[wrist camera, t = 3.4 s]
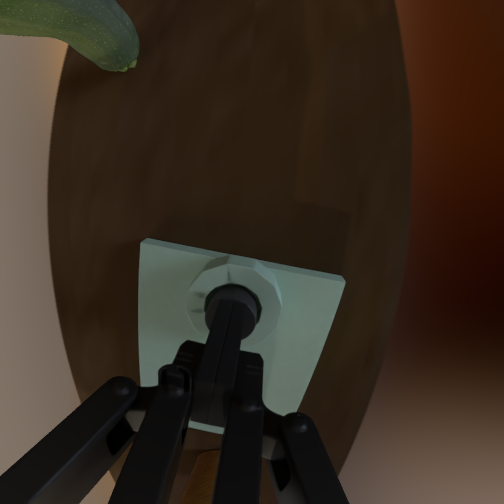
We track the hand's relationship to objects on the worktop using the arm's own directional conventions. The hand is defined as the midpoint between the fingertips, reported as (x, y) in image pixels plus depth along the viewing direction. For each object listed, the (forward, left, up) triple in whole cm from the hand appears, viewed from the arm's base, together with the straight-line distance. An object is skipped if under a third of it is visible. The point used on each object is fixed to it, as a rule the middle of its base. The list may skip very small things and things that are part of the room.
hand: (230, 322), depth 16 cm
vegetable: (+15, +10, -5) cm, 19 cm away
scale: (-7, 0, -5) cm, 8 cm away
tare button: (0, 0, -2) cm, 2 cm away
